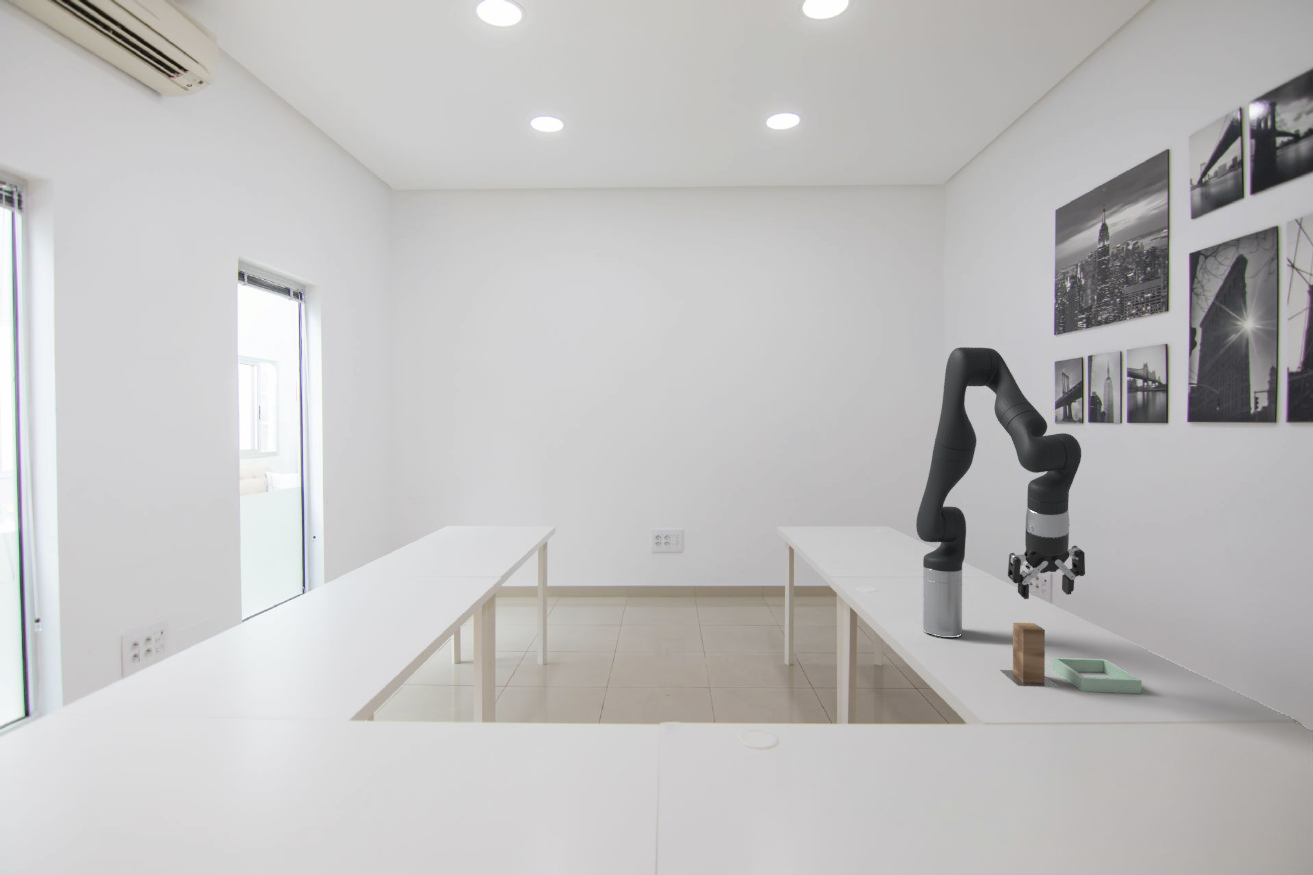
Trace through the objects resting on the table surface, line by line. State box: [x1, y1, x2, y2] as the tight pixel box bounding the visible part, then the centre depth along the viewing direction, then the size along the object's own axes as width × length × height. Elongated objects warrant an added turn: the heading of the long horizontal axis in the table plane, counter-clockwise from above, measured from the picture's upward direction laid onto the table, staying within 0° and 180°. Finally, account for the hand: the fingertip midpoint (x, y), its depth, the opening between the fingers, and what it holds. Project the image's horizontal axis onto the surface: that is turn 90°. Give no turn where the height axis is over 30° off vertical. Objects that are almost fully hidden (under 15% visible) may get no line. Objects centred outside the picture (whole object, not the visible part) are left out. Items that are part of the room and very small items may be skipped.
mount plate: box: [999, 669, 1060, 688], centre depth 125 cm, size 8×8×1 cm
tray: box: [1050, 657, 1142, 694], centre depth 124 cm, size 11×11×4 cm
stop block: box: [1012, 622, 1046, 683], centre depth 125 cm, size 4×4×11 cm
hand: (1045, 594), depth 128 cm, fingers open, 8 cm apart
